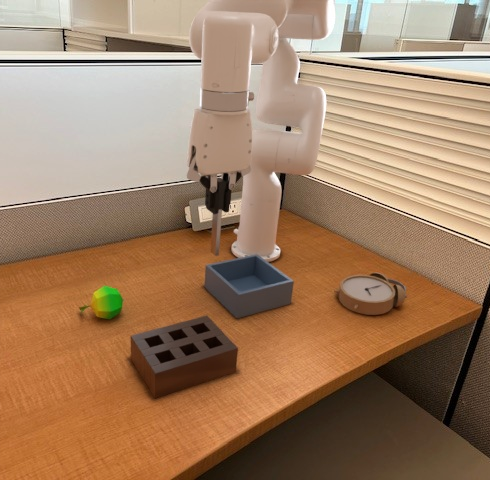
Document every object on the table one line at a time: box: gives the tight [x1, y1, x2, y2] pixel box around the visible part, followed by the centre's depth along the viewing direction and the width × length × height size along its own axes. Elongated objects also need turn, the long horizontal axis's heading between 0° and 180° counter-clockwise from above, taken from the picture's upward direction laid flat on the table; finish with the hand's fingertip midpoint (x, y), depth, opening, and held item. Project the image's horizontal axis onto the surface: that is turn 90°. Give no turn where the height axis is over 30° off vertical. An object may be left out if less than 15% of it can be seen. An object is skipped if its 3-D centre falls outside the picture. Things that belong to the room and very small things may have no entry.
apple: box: [78, 285, 124, 320], centre depth 94 cm, size 7×6×9 cm
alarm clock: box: [333, 271, 408, 316], centre depth 104 cm, size 11×5×15 cm
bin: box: [203, 254, 295, 319], centre depth 103 cm, size 14×14×6 cm
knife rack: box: [130, 315, 239, 399], centre depth 82 cm, size 11×15×5 cm
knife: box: [210, 176, 226, 257], centre depth 83 cm, size 2×1×14 cm, turn 27°
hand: (217, 209), depth 83 cm, fingers closed on knife, 1 cm apart
